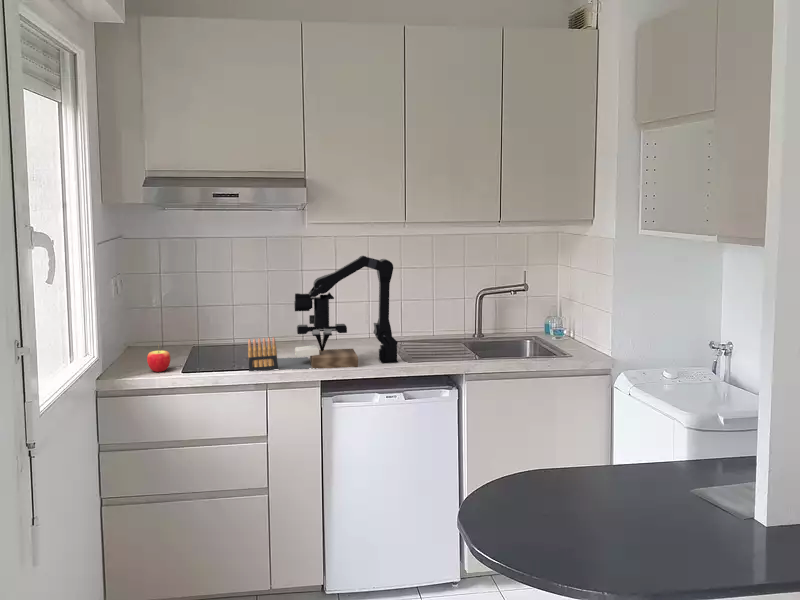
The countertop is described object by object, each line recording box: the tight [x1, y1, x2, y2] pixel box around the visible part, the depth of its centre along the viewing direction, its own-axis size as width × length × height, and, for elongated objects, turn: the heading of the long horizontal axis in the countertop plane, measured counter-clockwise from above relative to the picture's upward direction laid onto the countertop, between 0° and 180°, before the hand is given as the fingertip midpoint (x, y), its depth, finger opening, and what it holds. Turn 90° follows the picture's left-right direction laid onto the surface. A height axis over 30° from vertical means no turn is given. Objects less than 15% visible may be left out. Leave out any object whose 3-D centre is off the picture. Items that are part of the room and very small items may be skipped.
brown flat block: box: [309, 348, 359, 369], centre depth 314 cm, size 17×16×4 cm
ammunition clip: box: [247, 336, 278, 372], centre depth 302 cm, size 11×2×12 cm, turn 99°
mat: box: [277, 356, 312, 370], centre depth 313 cm, size 14×20×1 cm
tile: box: [294, 344, 320, 358], centre depth 312 cm, size 9×7×2 cm
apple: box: [146, 343, 171, 373], centre depth 301 cm, size 8×8×10 cm
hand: (322, 351), depth 313 cm, fingers closed
